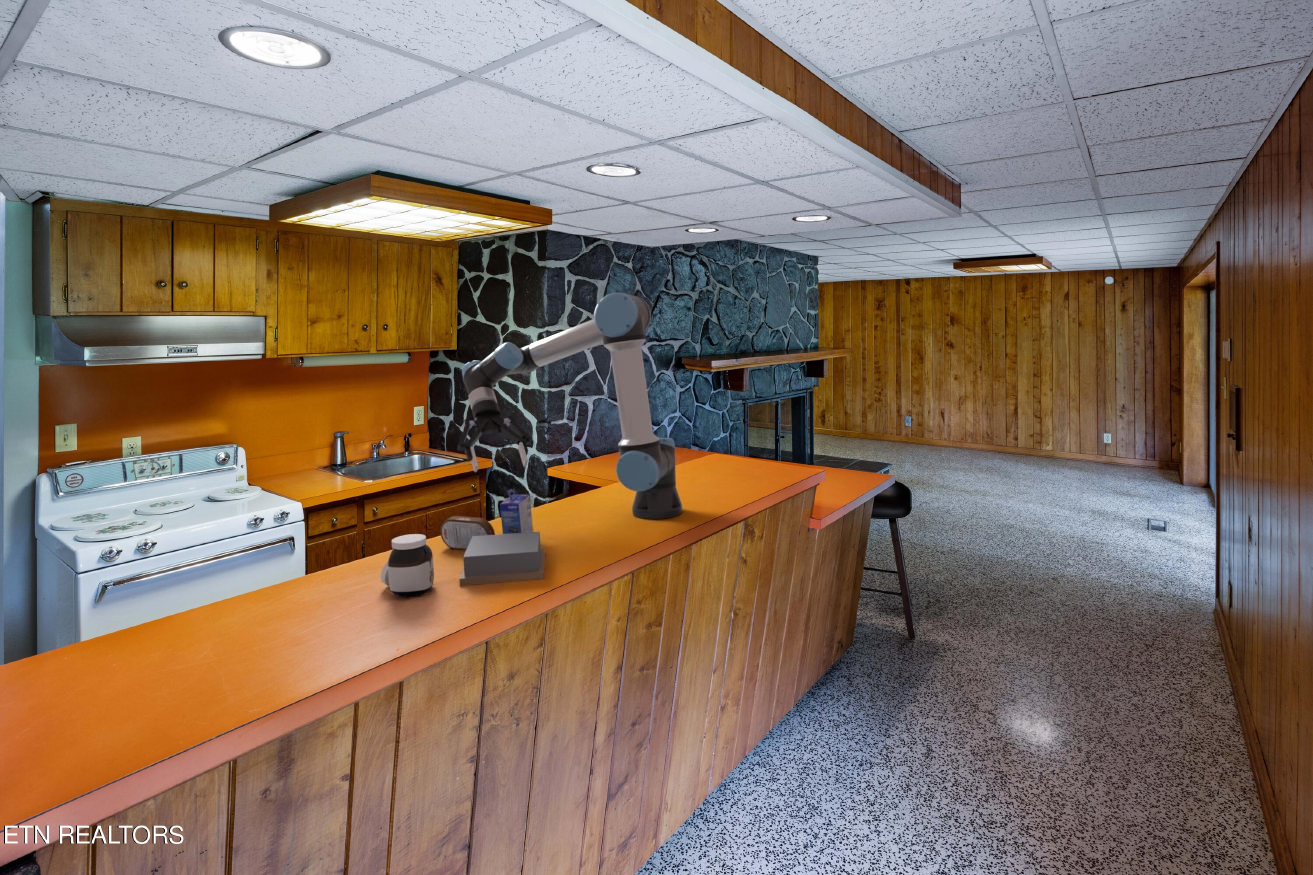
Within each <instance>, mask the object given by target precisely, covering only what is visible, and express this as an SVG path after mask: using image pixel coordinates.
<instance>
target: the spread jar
mask: <svg viewBox="0 0 1313 875" xmlns="http://www.w3.org/2000/svg"><path fill="white" fill-rule="evenodd" d="M391 548H392V549H391V552H390V553H389V556H388V559H387V561H386V563H385V564H384V566H383V567H382V569H381V571H380V575H379V576H380V581H381V582H382V583H383V584H384V585H386V586H387V587H389V589H390V592H391V593H392V595H394V596H396V597H399V598H406V599H407V598H417V597H420V596H423V595H426V594H428V593H429V592H430V591H431V590H432V587H433V586H434V585H433V584H434V581H435V568H434V566H435V564H434V554H433V552H432V548H431V547H430V546H429V545H428V544H427V536H426V535H425V534H420V533H413V534H410V533H409V534H404V535H400V536H397V537H394V538H392V539H391Z"/></svg>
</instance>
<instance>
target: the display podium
mask: <svg viewBox="0 0 1313 875" xmlns="http://www.w3.org/2000/svg"><path fill="white" fill-rule="evenodd" d="M462 560H463V569H462V572H461V574H460V576H459V586H469V585H480V584H481V585H482V584H495V583H509V582H519V581H531V580H532V581H534V580H535V581H536V580H544V579H545V565H546V547H541V531H533V532H527V533H512V534H503V533H502V534H501V533H500V534H499V533H498V534H495V535H484V536H472V538H471V541H470V543H469V545H468V547H467V550H465V552H464V555H463V557H462Z"/></svg>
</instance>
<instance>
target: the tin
mask: <svg viewBox="0 0 1313 875" xmlns="http://www.w3.org/2000/svg"><path fill="white" fill-rule="evenodd" d="M439 532H440V537H441V540H442V542H443V543H444V545H446V546H447V547H448V548H450V549H452V548H453V550H460V549H463V550H462V551H466V550H467V547H468V545H469V543H470V541H471V538H472V536H484V535H496V534H495V529H494V527H493V525H492V524H491V523H490V522H489V520H486V518H482V517H475V516H473V517H472V516H465V515H464V516H463V515H461V516H460V515H452V516H450V517H449V518H447V519H446V520H444V521H443V522H442V523H441V525H440V530H439Z"/></svg>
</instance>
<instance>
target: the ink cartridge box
mask: <svg viewBox="0 0 1313 875" xmlns="http://www.w3.org/2000/svg"><path fill="white" fill-rule="evenodd" d="M506 493H507V495H508V496H509V497H508V498H506V499H505V500H504V501H503V502H501V503H500V504H499V507H500V517H501V518H500V519H501V528H502V530H501V531H502V534H512V533H527V532H534V525H533V513H532V503H531V494H516V493H515V491H514V490H513V489H512V488H510V489H508V490H507V491H506ZM511 493H512V494H511Z"/></svg>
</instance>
